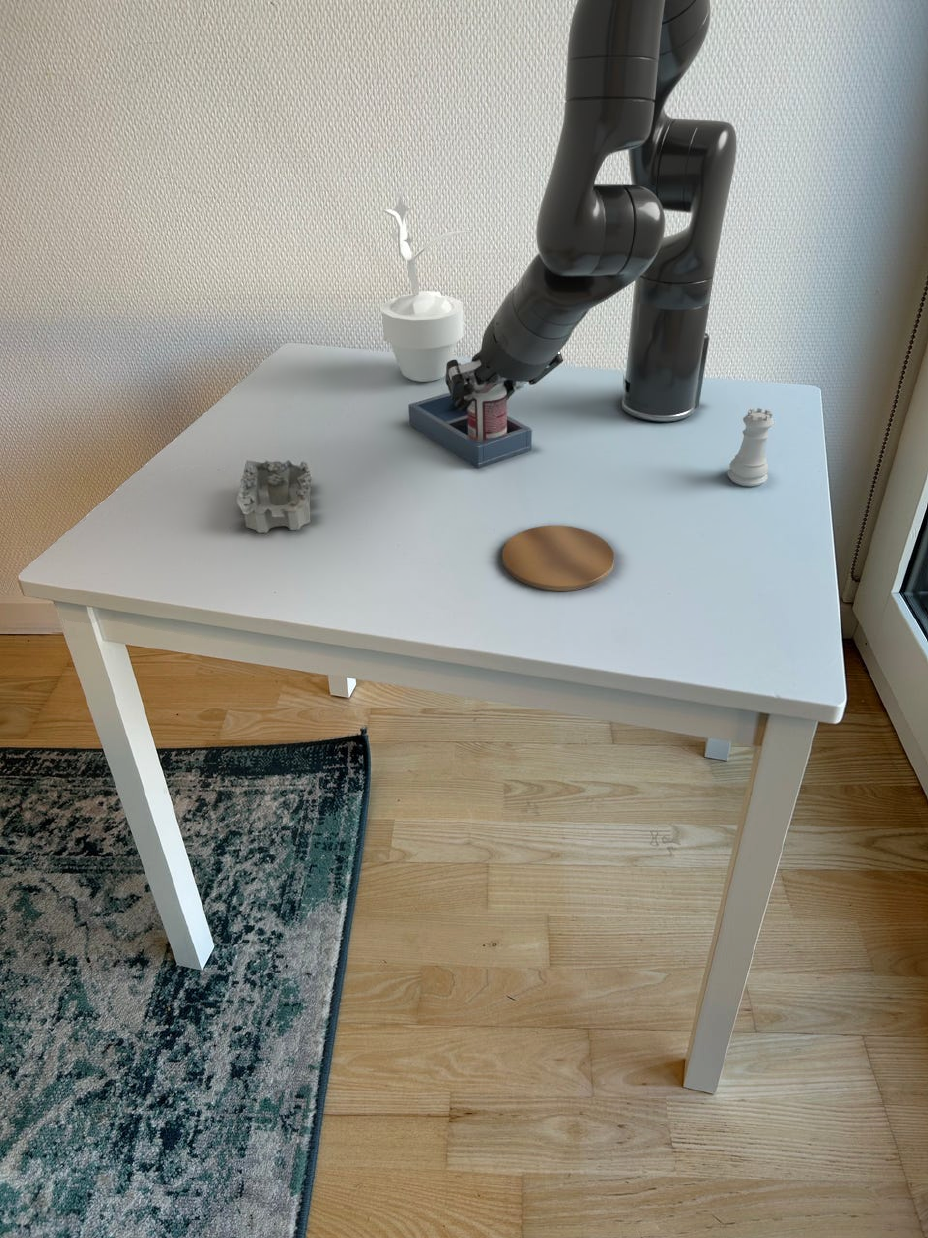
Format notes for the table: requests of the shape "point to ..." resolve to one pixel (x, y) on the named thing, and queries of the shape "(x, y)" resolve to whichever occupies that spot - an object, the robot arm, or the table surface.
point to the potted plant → (421, 316)
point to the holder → (466, 432)
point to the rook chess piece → (752, 450)
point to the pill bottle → (488, 414)
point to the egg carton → (275, 495)
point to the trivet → (558, 558)
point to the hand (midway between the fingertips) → (479, 398)
